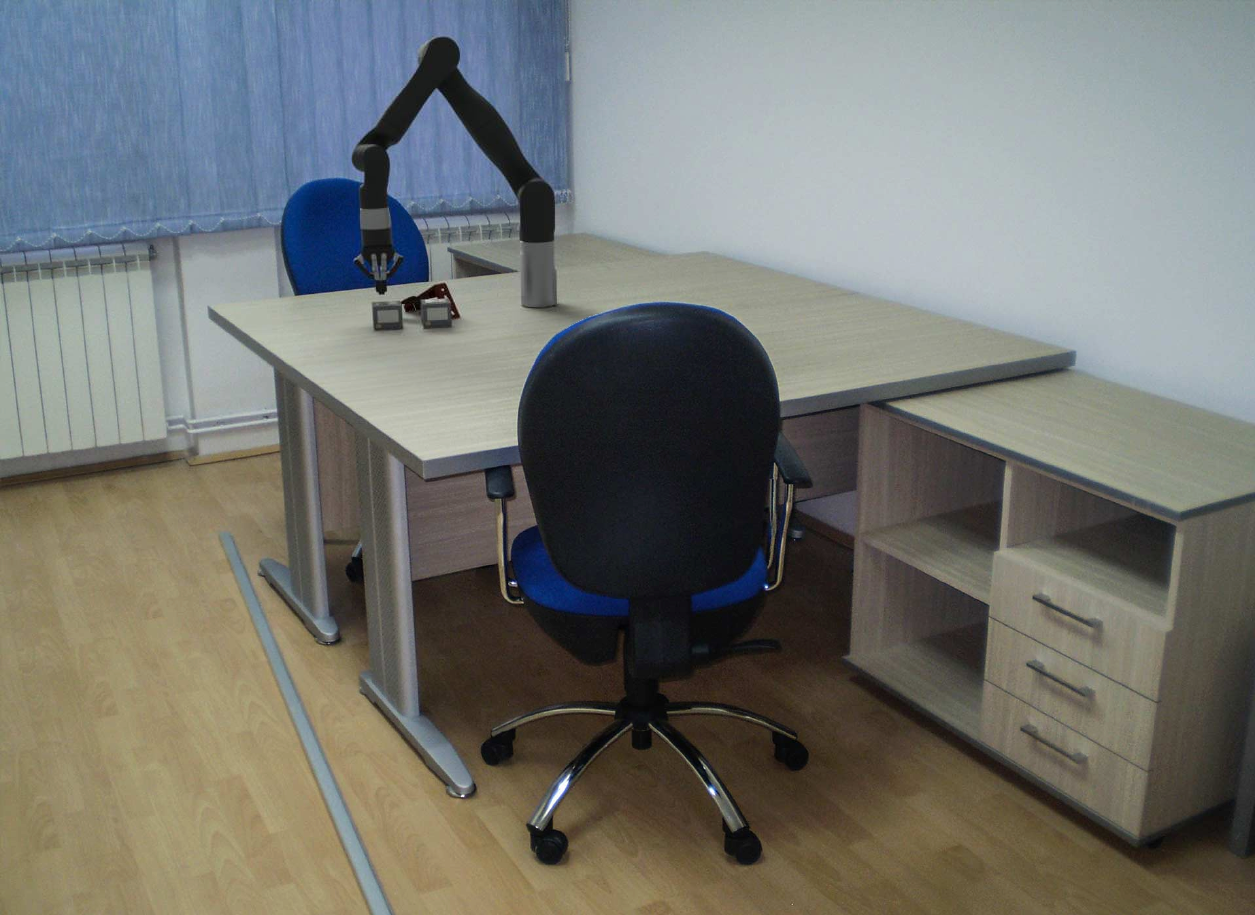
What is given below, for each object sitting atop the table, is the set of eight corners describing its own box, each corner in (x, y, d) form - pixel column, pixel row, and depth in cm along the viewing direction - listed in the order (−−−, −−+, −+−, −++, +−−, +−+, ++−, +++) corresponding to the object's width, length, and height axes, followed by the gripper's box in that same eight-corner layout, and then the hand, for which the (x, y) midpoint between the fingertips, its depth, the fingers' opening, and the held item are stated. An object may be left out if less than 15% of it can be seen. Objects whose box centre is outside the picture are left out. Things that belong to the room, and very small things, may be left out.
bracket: (432, 324, 319) (416, 288, 319) (398, 345, 328) (383, 309, 328) (461, 317, 327) (445, 281, 327) (428, 337, 336) (413, 303, 336)
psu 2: (449, 321, 321) (448, 297, 319) (452, 327, 315) (451, 302, 314) (421, 323, 320) (420, 299, 318) (423, 328, 314) (422, 303, 312)
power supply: (401, 324, 319) (400, 300, 317) (403, 329, 313) (401, 304, 311) (373, 325, 317) (371, 301, 315) (374, 331, 311) (372, 306, 309)
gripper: (401, 222, 323) (406, 289, 329) (348, 225, 320) (354, 293, 326) (403, 226, 316) (409, 295, 322) (349, 229, 313) (355, 298, 319)
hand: (381, 294), depth 324 cm, fingers closed
